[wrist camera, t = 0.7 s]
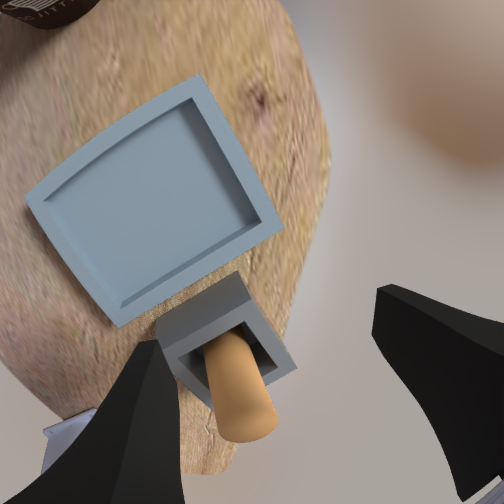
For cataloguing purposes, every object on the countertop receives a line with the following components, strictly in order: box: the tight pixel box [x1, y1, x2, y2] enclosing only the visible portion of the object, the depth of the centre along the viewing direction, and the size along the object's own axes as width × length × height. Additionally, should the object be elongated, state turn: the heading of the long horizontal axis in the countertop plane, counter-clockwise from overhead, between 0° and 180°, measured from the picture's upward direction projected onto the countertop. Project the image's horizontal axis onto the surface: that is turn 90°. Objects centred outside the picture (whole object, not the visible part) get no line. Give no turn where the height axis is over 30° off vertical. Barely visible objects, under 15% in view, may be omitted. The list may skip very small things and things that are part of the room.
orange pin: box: [202, 324, 278, 443], centre depth 17 cm, size 3×3×8 cm
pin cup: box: [155, 270, 297, 411], centre depth 19 cm, size 7×7×4 cm
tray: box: [24, 73, 284, 328], centre depth 16 cm, size 12×10×2 cm
